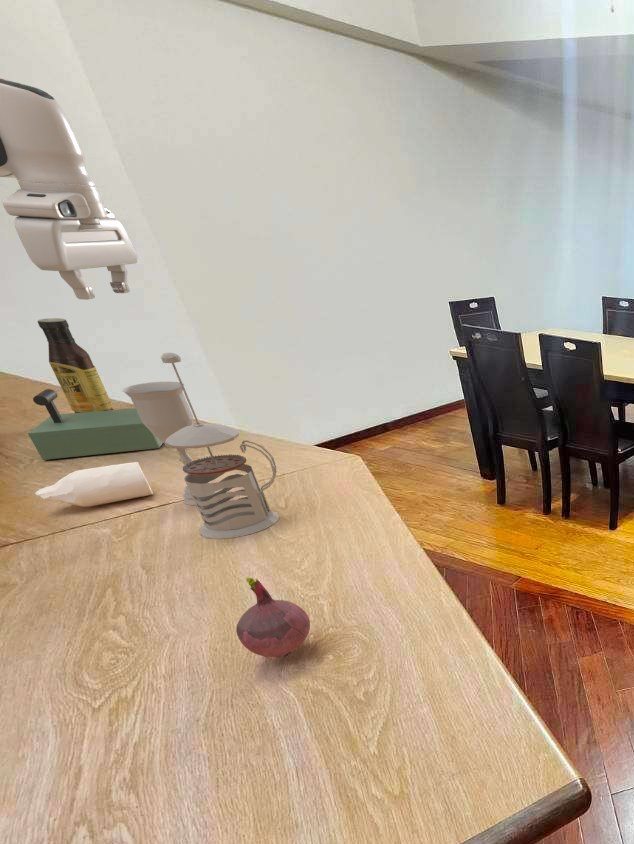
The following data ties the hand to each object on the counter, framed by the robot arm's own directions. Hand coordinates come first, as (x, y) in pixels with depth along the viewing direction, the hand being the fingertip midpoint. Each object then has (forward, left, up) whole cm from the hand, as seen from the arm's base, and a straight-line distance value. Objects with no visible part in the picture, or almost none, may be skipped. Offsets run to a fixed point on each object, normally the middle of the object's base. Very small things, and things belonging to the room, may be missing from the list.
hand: (105, 295), depth 103 cm
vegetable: (+23, -86, -27) cm, 93 cm away
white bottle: (-4, -30, -27) cm, 41 cm away
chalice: (+9, -34, -27) cm, 44 cm away
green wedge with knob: (-9, +2, -27) cm, 28 cm away
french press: (+16, -47, -27) cm, 57 cm away
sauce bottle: (-17, +26, -27) cm, 41 cm away
